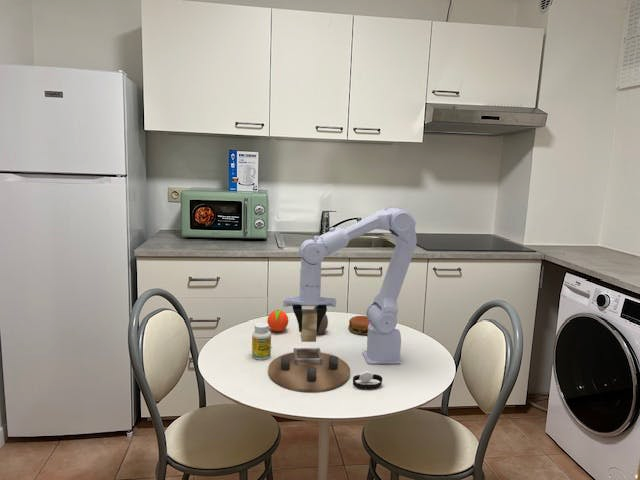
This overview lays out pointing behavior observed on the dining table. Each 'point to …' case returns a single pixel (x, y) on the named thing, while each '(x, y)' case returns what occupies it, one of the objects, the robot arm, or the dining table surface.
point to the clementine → (277, 320)
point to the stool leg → (309, 325)
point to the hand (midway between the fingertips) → (308, 330)
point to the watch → (365, 378)
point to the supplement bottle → (261, 341)
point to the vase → (322, 325)
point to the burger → (359, 325)
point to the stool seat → (309, 371)
